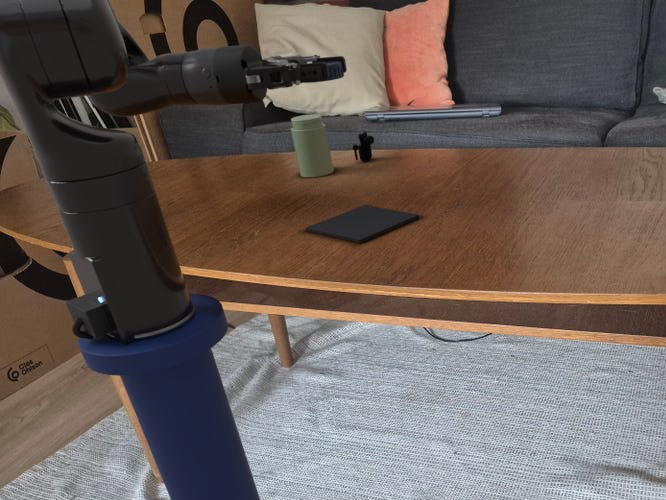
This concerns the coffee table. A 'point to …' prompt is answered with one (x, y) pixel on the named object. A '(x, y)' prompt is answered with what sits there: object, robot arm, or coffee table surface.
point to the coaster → (362, 223)
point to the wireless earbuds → (364, 147)
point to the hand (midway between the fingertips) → (336, 67)
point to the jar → (311, 146)
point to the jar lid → (333, 71)
